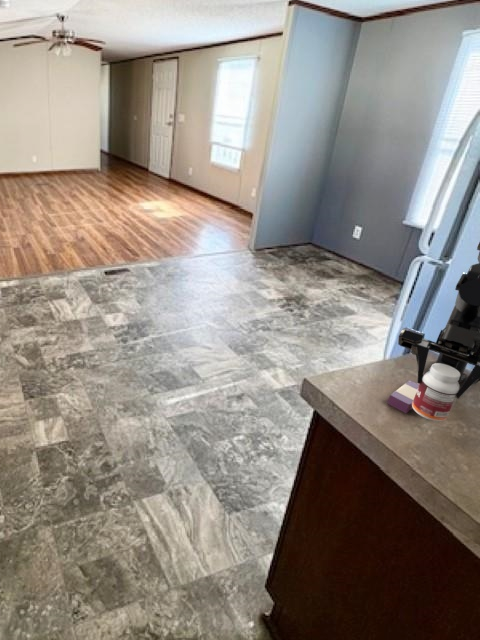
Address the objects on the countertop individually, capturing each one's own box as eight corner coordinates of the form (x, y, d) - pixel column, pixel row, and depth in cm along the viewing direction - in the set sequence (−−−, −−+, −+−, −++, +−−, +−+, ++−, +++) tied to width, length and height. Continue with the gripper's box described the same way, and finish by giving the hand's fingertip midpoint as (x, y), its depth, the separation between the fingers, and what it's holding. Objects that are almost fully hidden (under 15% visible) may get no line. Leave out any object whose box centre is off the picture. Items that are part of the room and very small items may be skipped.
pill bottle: (416, 398, 94) (432, 356, 89) (450, 413, 89) (469, 371, 85) (406, 410, 90) (423, 368, 86) (441, 427, 86) (461, 383, 81)
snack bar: (406, 388, 103) (409, 380, 102) (425, 397, 100) (428, 389, 99) (386, 403, 98) (390, 394, 97) (406, 413, 95) (409, 404, 94)
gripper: (414, 293, 89) (385, 358, 86) (537, 327, 77) (506, 404, 74) (412, 313, 97) (385, 373, 94) (522, 347, 85) (494, 417, 82)
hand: (437, 390), depth 86 cm, fingers closed on pill bottle, 6 cm apart
